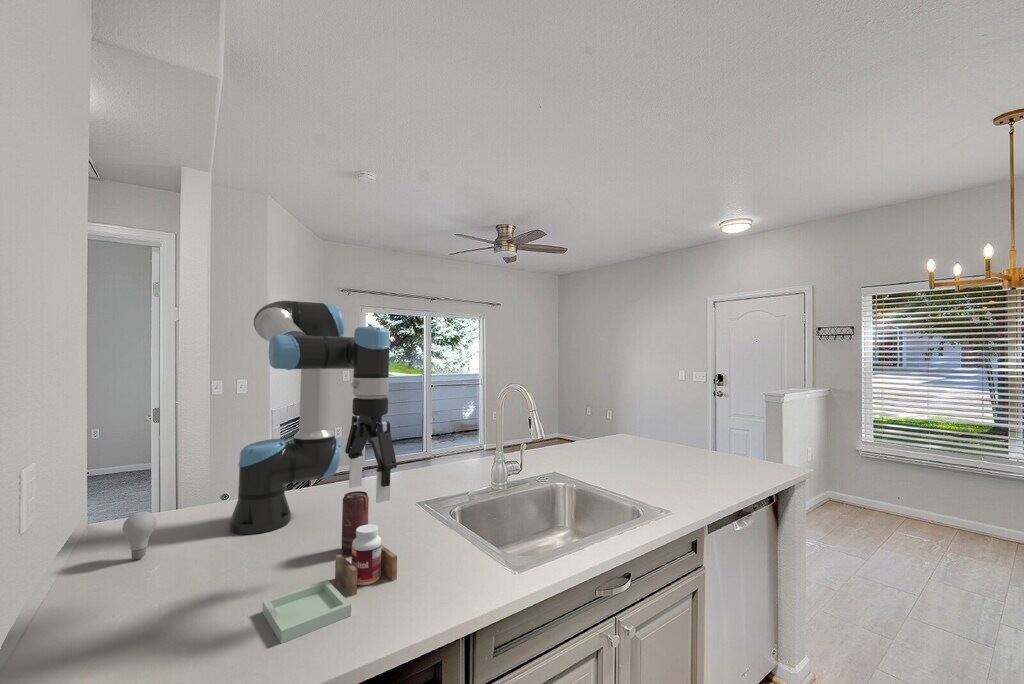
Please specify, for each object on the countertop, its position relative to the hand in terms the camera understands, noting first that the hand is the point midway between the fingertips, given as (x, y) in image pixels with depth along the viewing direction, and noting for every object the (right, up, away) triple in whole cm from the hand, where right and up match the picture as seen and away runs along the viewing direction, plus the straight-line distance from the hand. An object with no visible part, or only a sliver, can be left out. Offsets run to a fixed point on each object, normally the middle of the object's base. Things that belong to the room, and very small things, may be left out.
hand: (368, 493), depth 97 cm
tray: (-7, -18, -14) cm, 24 cm away
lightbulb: (-57, -18, +7) cm, 60 cm away
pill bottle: (0, -19, -1) cm, 19 cm away
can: (-8, -19, +13) cm, 24 cm away
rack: (0, -19, -1) cm, 19 cm away
